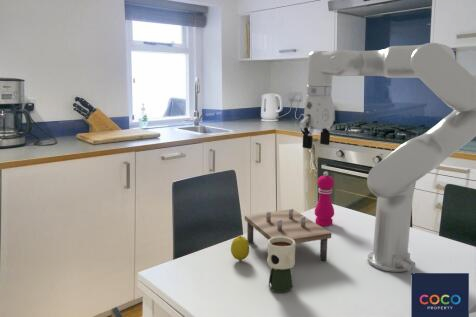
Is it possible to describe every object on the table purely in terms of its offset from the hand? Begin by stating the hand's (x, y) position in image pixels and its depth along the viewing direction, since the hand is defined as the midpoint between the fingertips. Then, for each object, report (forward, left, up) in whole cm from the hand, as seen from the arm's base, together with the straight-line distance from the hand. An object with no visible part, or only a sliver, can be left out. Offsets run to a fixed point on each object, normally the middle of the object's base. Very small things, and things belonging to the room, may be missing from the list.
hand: (316, 146), depth 135 cm
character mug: (-24, +24, -33) cm, 47 cm away
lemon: (-5, +28, -33) cm, 43 cm away
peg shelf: (-3, +12, -32) cm, 35 cm away
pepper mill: (+14, -13, -33) cm, 38 cm away
